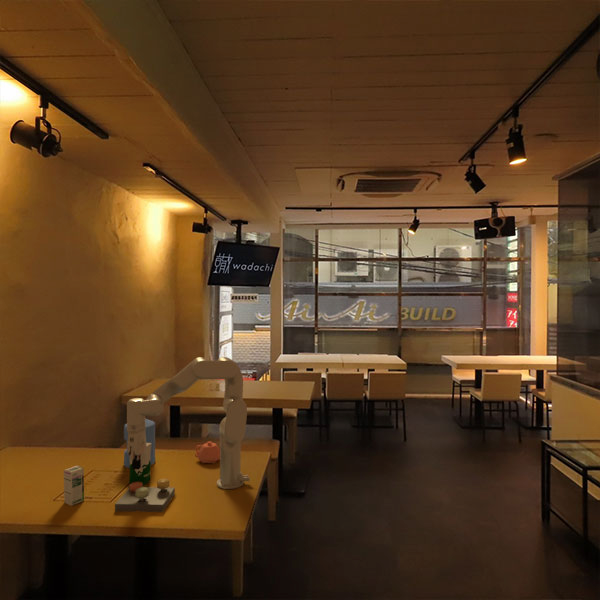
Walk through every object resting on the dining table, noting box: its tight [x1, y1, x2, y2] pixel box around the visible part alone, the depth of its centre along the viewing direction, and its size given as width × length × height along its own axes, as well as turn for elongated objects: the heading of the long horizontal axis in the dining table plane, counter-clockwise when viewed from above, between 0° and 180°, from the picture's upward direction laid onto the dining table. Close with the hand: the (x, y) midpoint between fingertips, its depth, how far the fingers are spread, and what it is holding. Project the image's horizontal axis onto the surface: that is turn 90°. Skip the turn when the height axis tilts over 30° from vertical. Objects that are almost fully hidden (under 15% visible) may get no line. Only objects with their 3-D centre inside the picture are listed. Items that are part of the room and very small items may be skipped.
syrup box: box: [63, 465, 85, 507], centre depth 190 cm, size 6×6×14 cm
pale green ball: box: [136, 486, 149, 502], centre depth 185 cm, size 5×5×5 cm
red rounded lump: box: [129, 482, 144, 492], centre depth 194 cm, size 5×5×5 cm
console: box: [114, 486, 176, 513], centre depth 190 cm, size 20×16×3 cm
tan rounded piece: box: [156, 477, 170, 492], centre depth 194 cm, size 5×5×5 cm
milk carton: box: [128, 442, 152, 487], centre depth 209 cm, size 9×9×20 cm
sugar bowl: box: [194, 441, 220, 464], centre depth 237 cm, size 12×14×10 cm
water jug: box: [123, 418, 156, 469], centre depth 232 cm, size 16×16×28 cm
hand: (136, 468), depth 194 cm, fingers closed
